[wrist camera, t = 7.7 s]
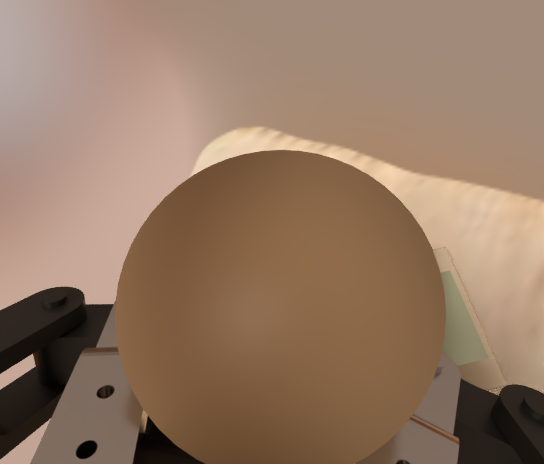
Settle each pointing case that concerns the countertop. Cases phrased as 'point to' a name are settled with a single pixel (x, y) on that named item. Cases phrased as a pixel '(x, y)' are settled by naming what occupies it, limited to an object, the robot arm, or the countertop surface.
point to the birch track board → (465, 331)
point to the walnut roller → (280, 312)
